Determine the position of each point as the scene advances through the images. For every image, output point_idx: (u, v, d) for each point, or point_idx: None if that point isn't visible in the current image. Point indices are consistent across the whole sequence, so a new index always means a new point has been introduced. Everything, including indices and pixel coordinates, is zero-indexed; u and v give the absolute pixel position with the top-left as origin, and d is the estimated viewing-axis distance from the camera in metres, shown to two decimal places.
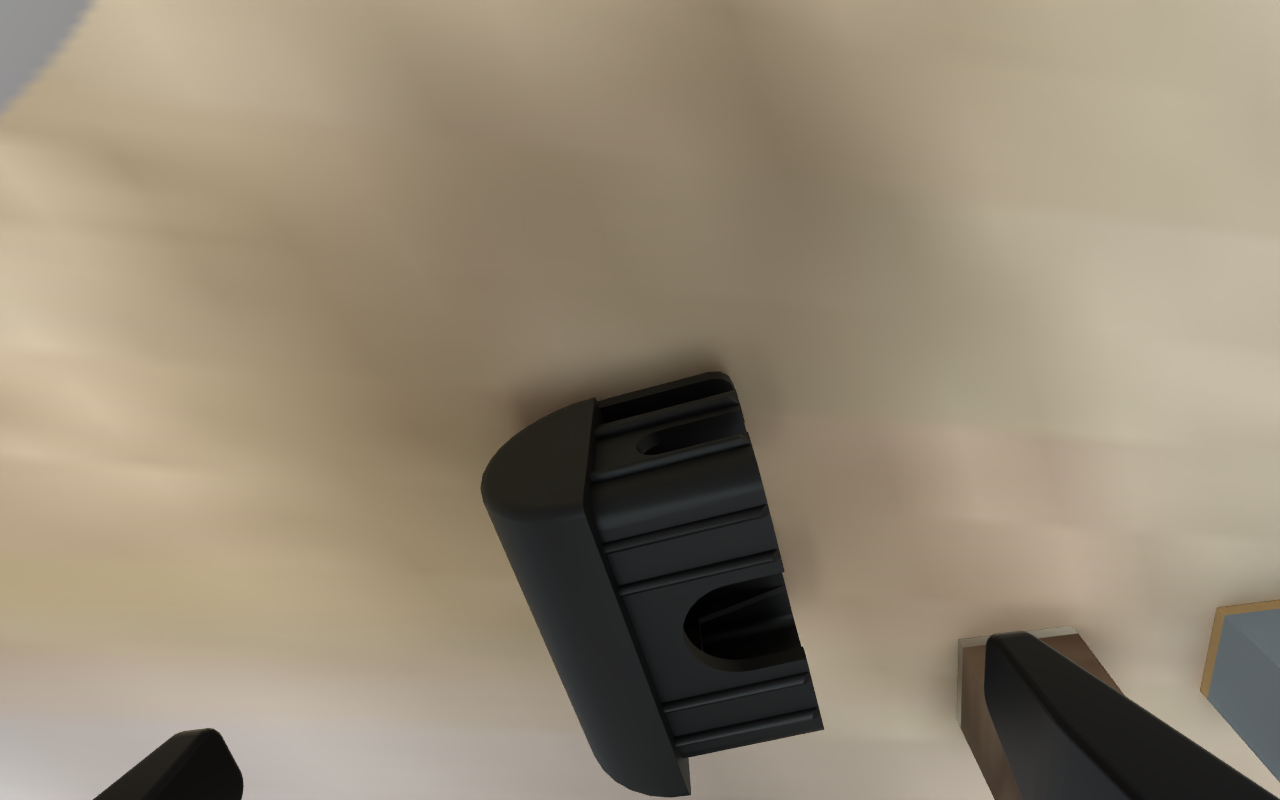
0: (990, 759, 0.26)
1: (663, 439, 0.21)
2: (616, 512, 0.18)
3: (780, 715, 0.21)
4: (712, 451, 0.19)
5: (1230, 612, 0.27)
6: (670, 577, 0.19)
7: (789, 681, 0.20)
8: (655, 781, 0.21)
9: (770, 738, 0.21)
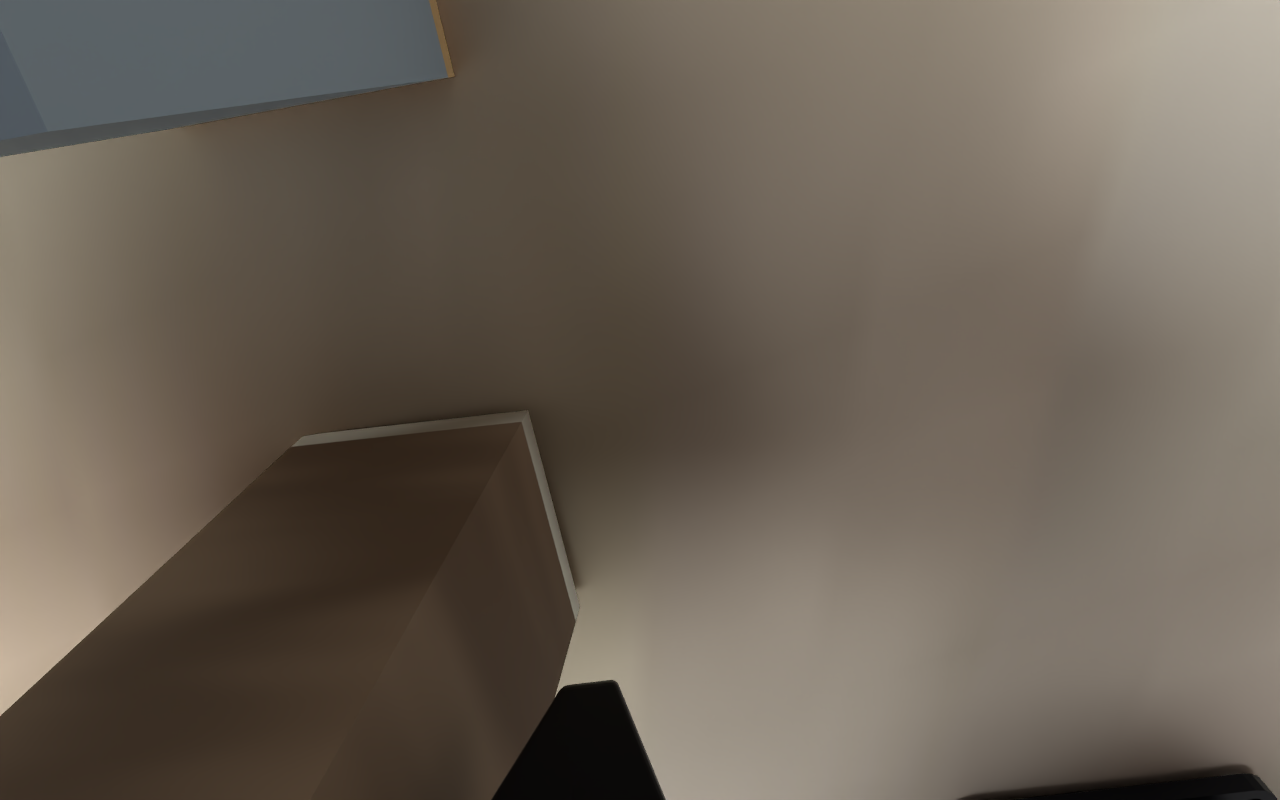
0: None
1: None
2: None
3: None
4: None
5: None
6: None
7: None
8: None
9: None
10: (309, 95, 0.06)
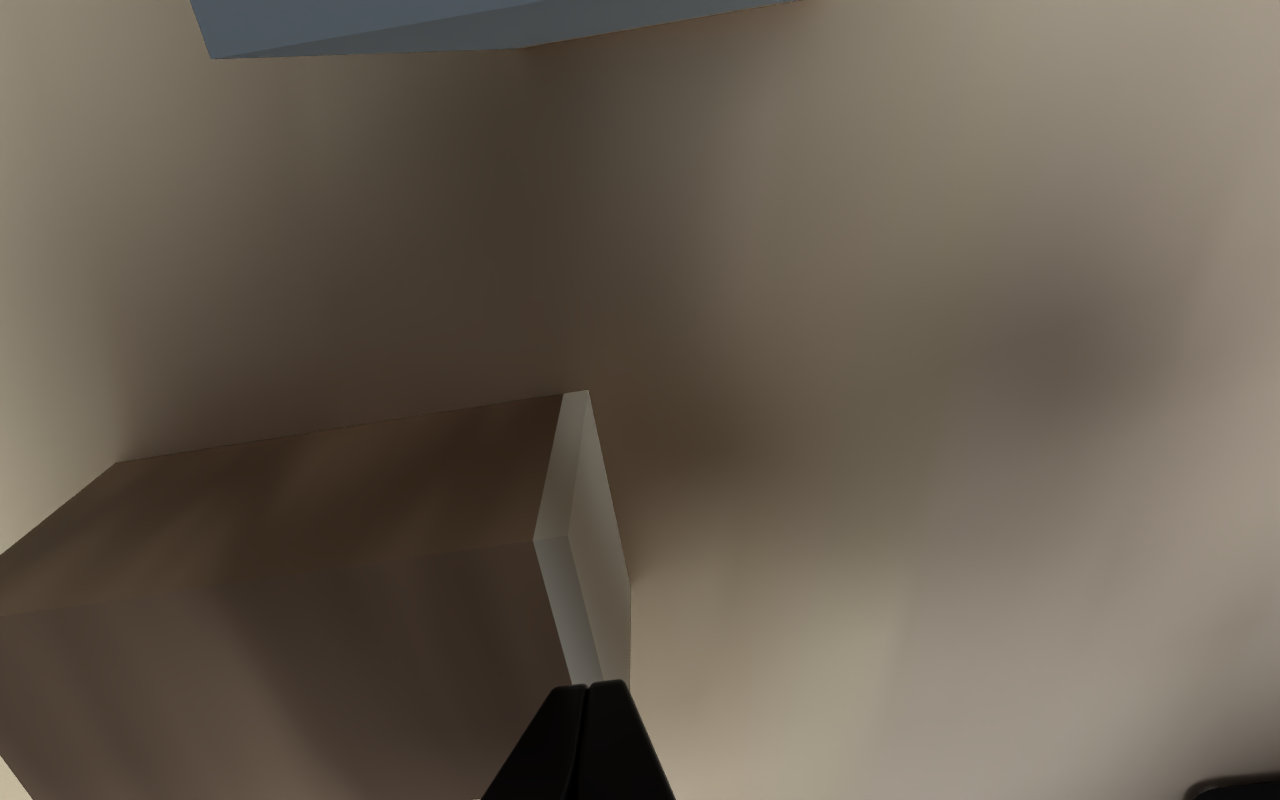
0: None
1: None
2: None
3: None
4: None
5: None
6: None
7: None
8: None
9: None
10: None
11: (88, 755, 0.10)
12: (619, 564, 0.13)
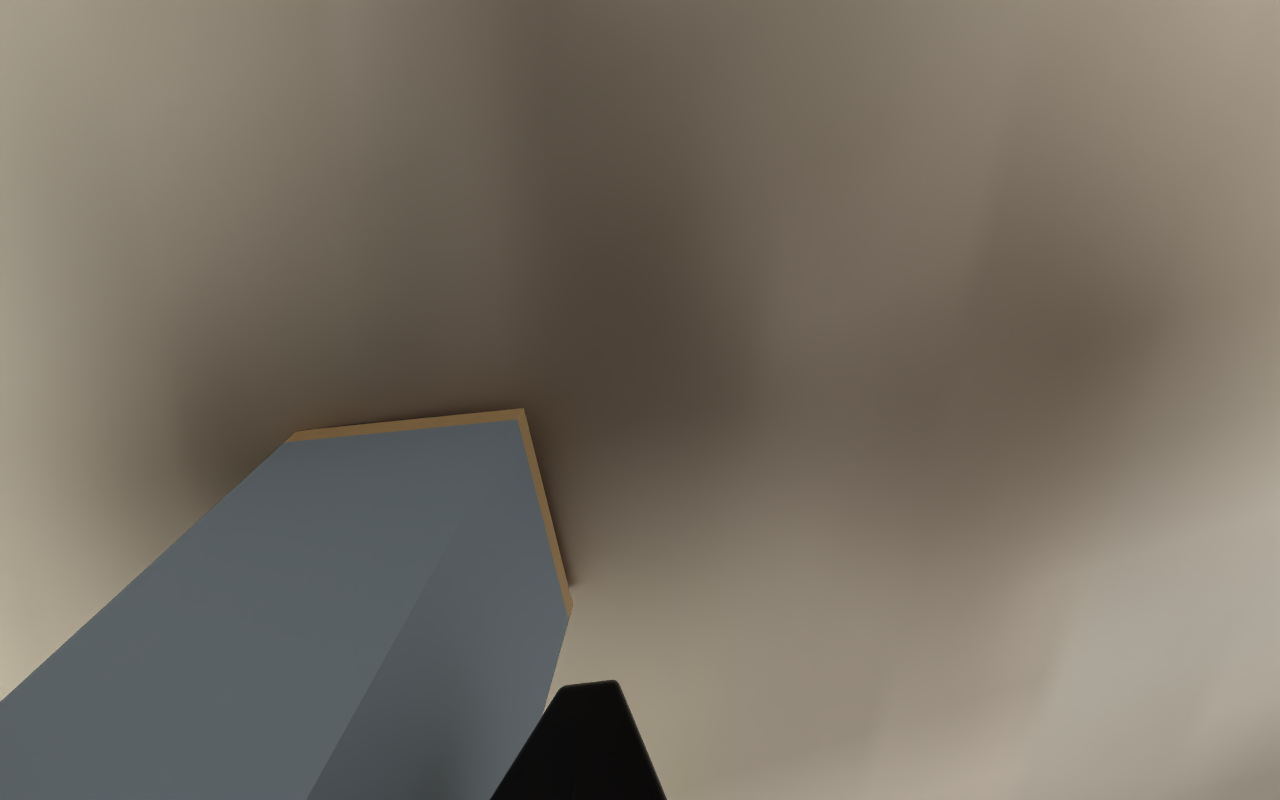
0: None
1: None
2: None
3: None
4: None
5: None
6: None
7: None
8: None
9: None
10: None
11: None
12: None
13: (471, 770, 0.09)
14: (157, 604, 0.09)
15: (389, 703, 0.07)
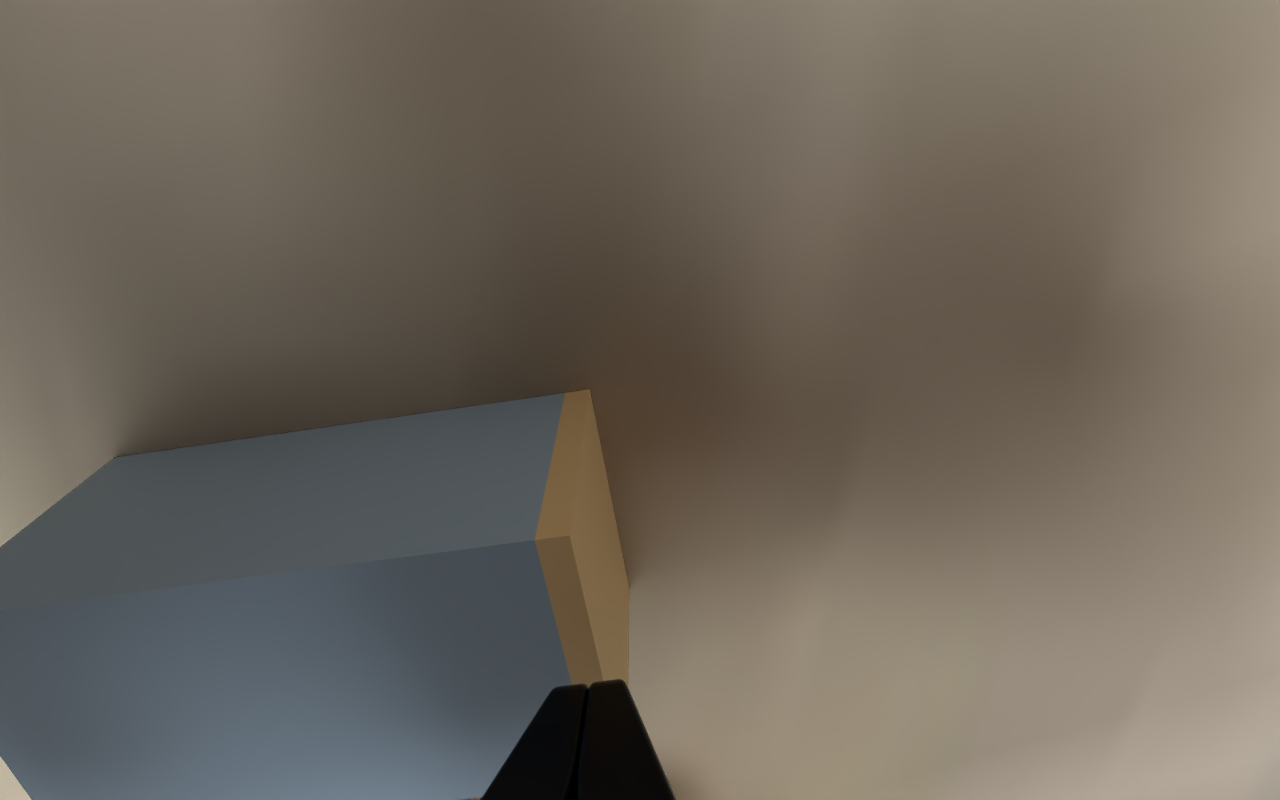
0: None
1: None
2: None
3: None
4: None
5: None
6: None
7: None
8: None
9: None
10: None
11: None
12: None
13: (246, 736, 0.10)
14: (306, 448, 0.12)
15: (111, 624, 0.09)
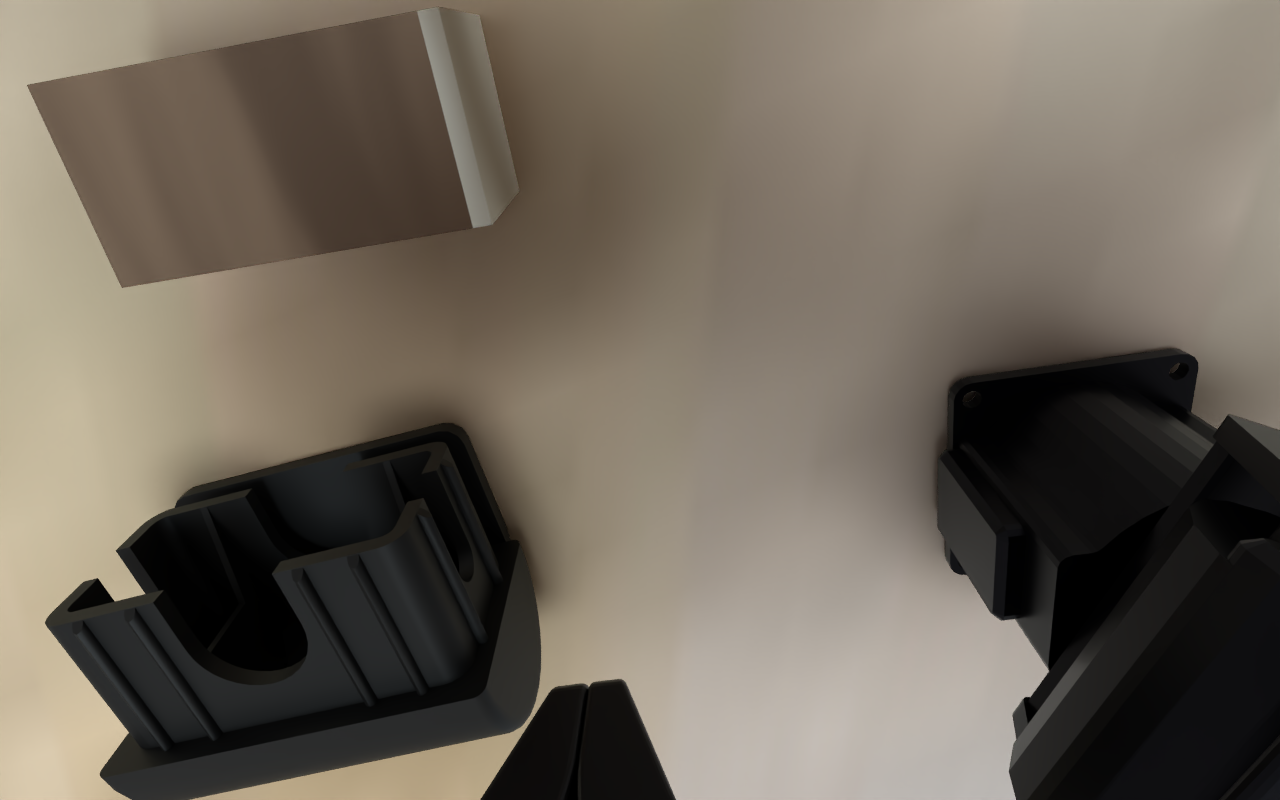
0: None
1: None
2: (130, 732, 0.19)
3: (368, 592, 0.17)
4: None
5: None
6: (184, 699, 0.18)
7: (302, 593, 0.17)
8: (463, 723, 0.18)
9: (411, 598, 0.17)
10: None
11: (137, 199, 0.15)
12: (504, 150, 0.18)
13: None
14: None
15: None
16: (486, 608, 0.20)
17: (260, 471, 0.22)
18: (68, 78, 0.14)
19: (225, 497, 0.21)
